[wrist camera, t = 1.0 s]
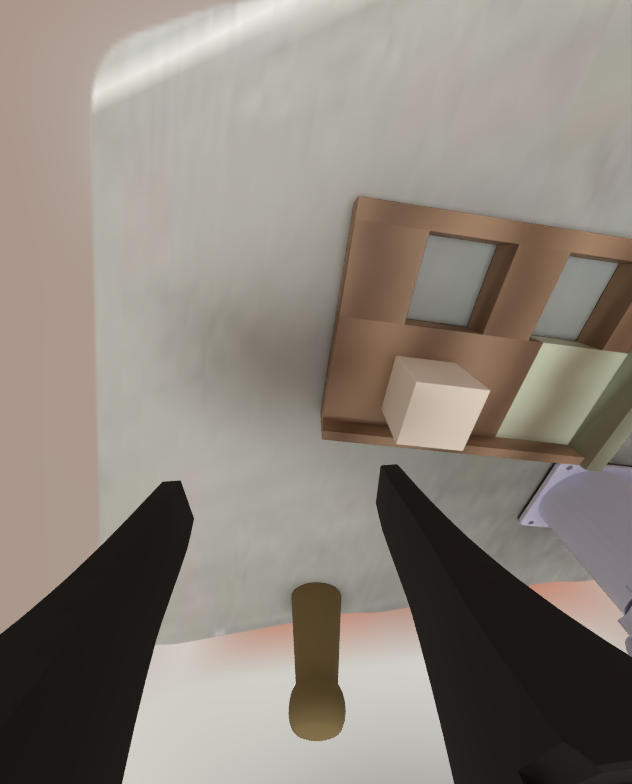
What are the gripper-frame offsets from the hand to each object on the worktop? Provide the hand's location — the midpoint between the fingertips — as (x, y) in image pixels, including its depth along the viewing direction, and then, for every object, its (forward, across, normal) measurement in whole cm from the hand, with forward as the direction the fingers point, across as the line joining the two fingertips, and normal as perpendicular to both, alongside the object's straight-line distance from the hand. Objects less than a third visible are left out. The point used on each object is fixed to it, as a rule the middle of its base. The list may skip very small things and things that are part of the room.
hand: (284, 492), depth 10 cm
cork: (+10, -2, +30) cm, 32 cm away
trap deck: (+10, -13, -2) cm, 17 cm away
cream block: (+9, -9, +1) cm, 12 cm away
